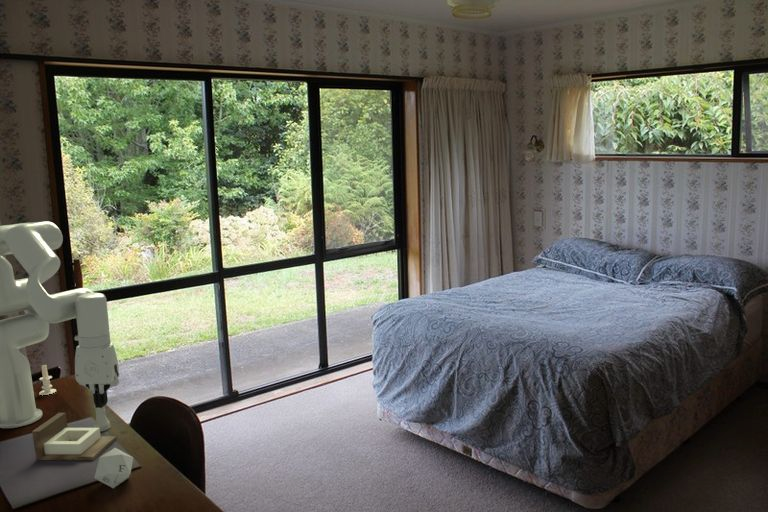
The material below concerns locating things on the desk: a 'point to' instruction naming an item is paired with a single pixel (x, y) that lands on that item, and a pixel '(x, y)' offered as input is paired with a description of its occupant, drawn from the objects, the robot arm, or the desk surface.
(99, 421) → the rook chess piece
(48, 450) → the socket block
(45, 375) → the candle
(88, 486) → the desk surface
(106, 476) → the die
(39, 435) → the wooden bookend
